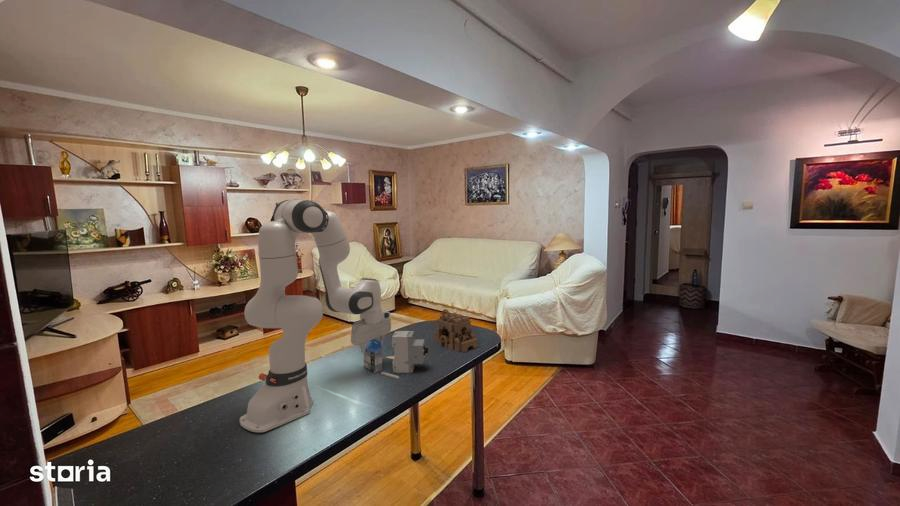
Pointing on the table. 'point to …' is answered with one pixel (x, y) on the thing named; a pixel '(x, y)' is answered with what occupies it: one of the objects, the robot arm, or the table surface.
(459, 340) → the wooden puzzle
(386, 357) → the cork pad
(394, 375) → the peg
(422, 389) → the table surface
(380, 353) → the label tape box
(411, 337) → the circuit breaker
